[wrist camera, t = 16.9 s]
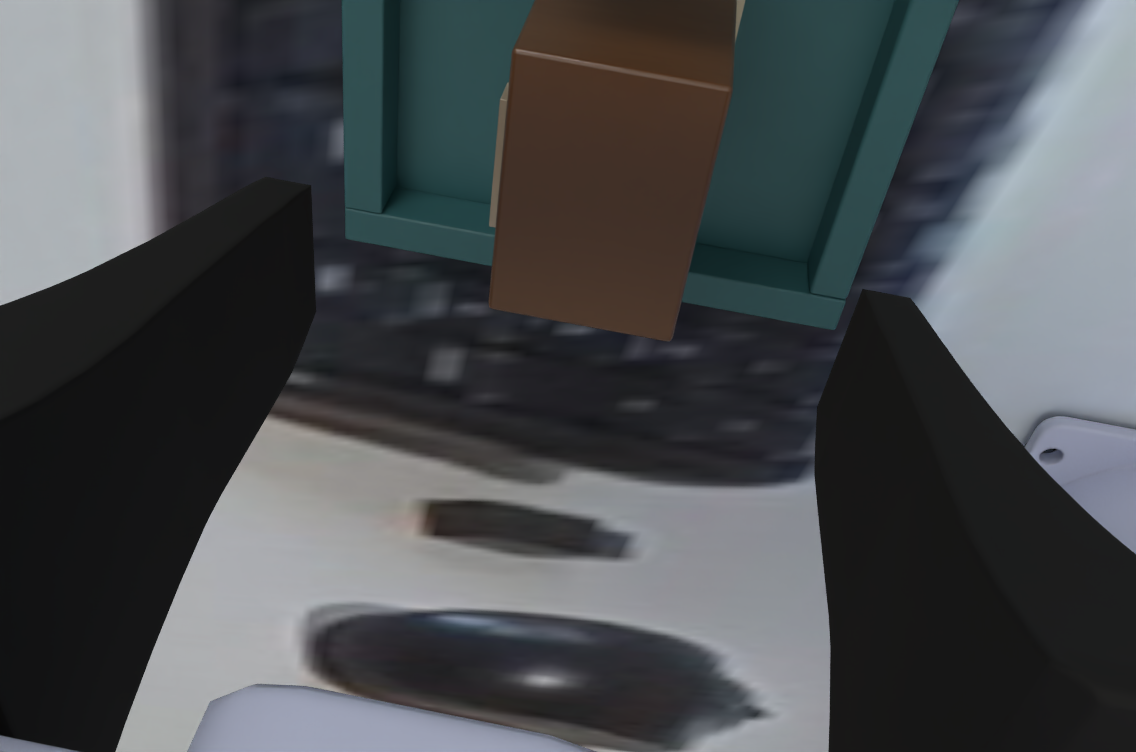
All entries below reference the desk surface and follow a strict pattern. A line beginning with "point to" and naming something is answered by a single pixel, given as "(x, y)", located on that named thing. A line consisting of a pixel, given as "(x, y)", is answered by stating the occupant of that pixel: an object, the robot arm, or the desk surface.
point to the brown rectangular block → (608, 159)
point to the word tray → (744, 161)
